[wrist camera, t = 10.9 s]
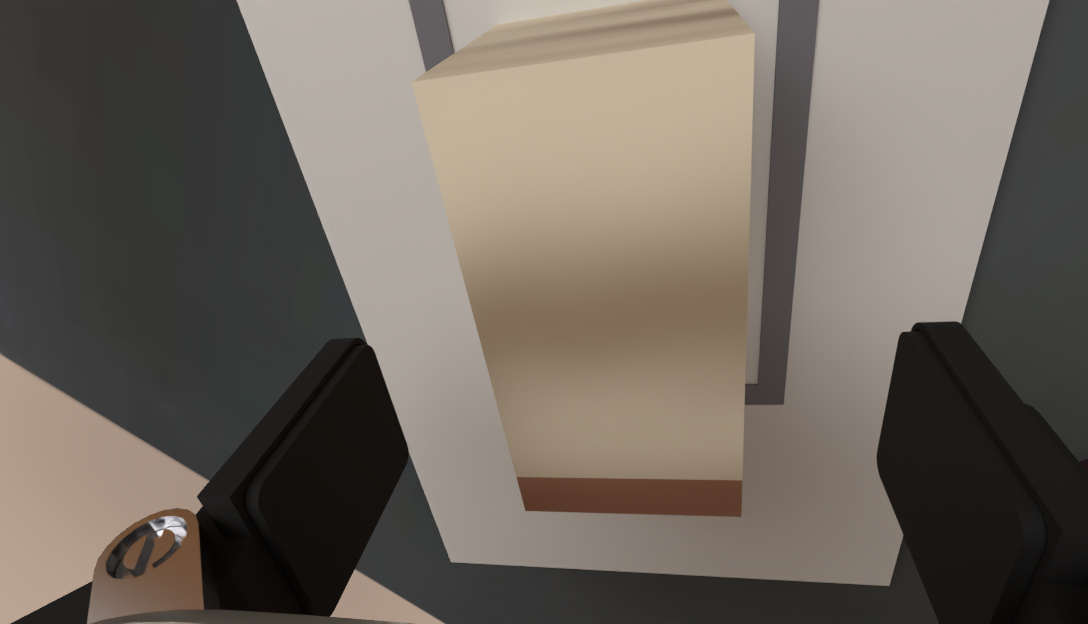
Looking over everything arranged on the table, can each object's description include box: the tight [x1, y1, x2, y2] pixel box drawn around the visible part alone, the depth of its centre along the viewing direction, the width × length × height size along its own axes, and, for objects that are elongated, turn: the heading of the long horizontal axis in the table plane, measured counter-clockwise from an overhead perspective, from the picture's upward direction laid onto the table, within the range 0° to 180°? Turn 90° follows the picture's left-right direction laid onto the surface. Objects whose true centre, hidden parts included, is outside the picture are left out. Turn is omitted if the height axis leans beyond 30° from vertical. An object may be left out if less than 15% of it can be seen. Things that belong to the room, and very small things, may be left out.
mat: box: [237, 0, 1049, 586], centre depth 19 cm, size 24×18×1 cm
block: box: [411, 0, 755, 517], centre depth 14 cm, size 10×5×6 cm, turn 9°
